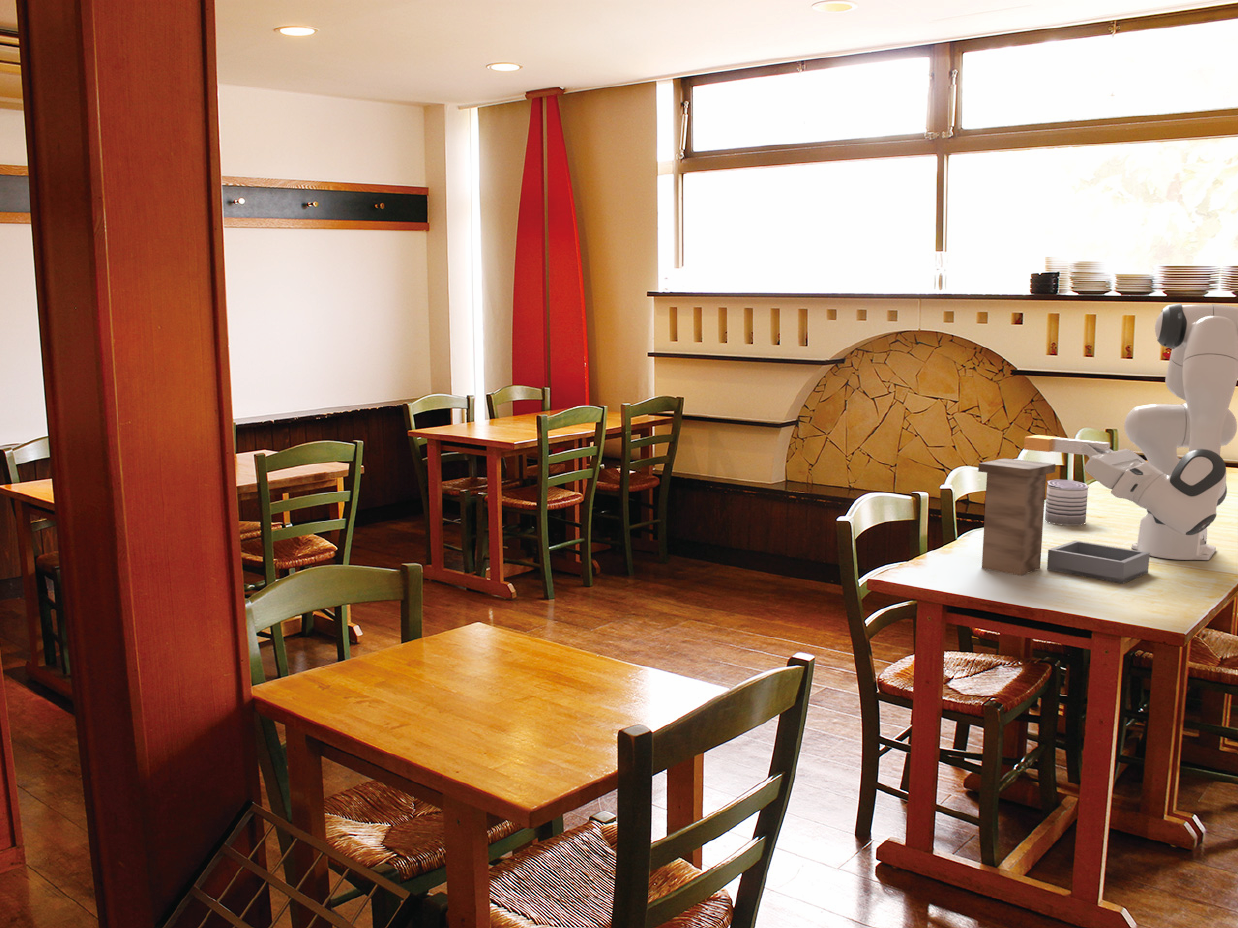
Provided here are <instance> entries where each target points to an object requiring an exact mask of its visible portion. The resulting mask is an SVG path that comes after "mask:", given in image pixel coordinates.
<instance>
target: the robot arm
mask: <svg viewBox="0 0 1238 928" xmlns="http://www.w3.org/2000/svg"><path fill="white" fill-rule="evenodd" d="M1154 333H1155V336H1156V341H1157V342H1158V343H1159V344H1160V346H1162V347H1165V348H1168V349H1171V352H1170V355H1169V361H1168V365H1167V371H1166V373H1165V374H1166V375H1165V378H1164V379H1165V380H1164V381H1165V385H1166V387H1167V390H1168V391H1170V392H1171V394H1172V395H1174V396H1176V397H1177V398H1180V399H1181V400H1183V401H1185V402H1184V403H1182V404H1172V403H1171V404H1169V403H1164V404H1163V403H1151V404H1144V405H1139V406H1134V407H1133V408H1132V409H1130V411H1129V412H1128V413H1127V414H1126V417H1125V420H1124V423H1123V424H1124V425H1123V426H1124V433H1125V435H1126V437H1127V438H1128V440H1129V441H1130V442H1131V443H1132V444H1134V445H1135V446H1136V447H1137V448H1138V449H1140V451H1141V452H1142V453H1143V455H1144V457H1145V458H1146V460H1147V461H1146V460H1145V459H1143V457H1141V456H1140V455H1139V454H1138V453H1135V452H1134V451H1133V450H1131V449H1129V448H1124V449H1123V448H1122V449H1119V450H1115V451H1114V450H1113V449H1111V448H1110V452H1109V453H1104V454H1101V453H1099V452H1097V451H1096V450H1094V447H1092V446H1091V445H1089V444H1086V445H1084V446H1083V447H1082V449H1081V450H1082V451H1083V452H1084V453H1085V454H1087V455H1086V456H1087V457H1088V458H1089V459H1088V460H1087V462H1086V463H1085V465H1084V466H1083V467H1084V470H1085V472H1086V473H1088V475H1090V476H1091V477H1092V478H1094V480H1096V481H1097V482H1099V483H1100V484H1101V485H1102V486H1104V487H1105V488H1107V489H1109V490H1111V491H1110V494H1111V495H1113V496H1114V497H1116V498H1119V499H1125V500H1128V501H1130V502H1132V503H1134V504H1135V505H1137V506H1139V507H1140V508H1142V509H1145V510H1146V512H1147V513H1146V514H1145V516H1143V517H1142V518H1141V519H1140V522H1139V528H1138V535H1137V543H1132V544H1131V546H1130V547H1131V549H1132V550H1136V551H1142V552H1149V553H1150V555H1149V557H1150V556H1151V557H1155V558H1160V559H1167V560H1169V559H1170V560H1182V561H1184V560H1185V561H1188V560H1190V561H1192V560H1197V561H1209V560H1211V558H1212V557H1213V555H1214V554H1215V552H1216V551H1217V549H1216V548H1217V547H1216V546H1214V545H1211V544H1207V543H1208V542H1207V541H1208V527H1209V526H1210V525H1211V524H1212V523H1213V522H1214V521H1215V520H1216V518H1217V507H1219V506H1220V505H1221V504H1222V503H1223V502H1224V500H1225V499H1226V497H1227V492H1228V488H1227V468H1226V463H1225V460H1224V458H1222V456H1221V447H1223V446H1227V445H1228V444H1229V443H1231V441H1233V439H1234V438H1235V436H1236V433H1237V429H1238V423H1237V419H1236V416H1235V415H1234V413H1233V412H1232V411H1231V410H1230V409H1229V408H1230V404H1231V402H1232V398H1233V395H1234V393H1235V390H1236V387H1237V386H1236V385H1237V381H1238V306H1232V305H1226V304H1225V305H1224V304H1216V303H1215V304H1213V303H1212V304H1200V303H1199V304H1198V303H1197V304H1196V303H1195V304H1182V303H1176V304H1175V303H1174V304H1167V305H1166V306H1165V307H1164V308H1162V309H1161V312H1160V313H1159V314H1158V316H1157V318H1156V321H1155V325H1154ZM1178 448H1184V449H1185V448H1187V449H1188V452H1186V453H1185V454H1184V455H1183V456H1182V457H1181V458H1180V457H1179V455H1178V453H1177V451H1178Z"/></svg>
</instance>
